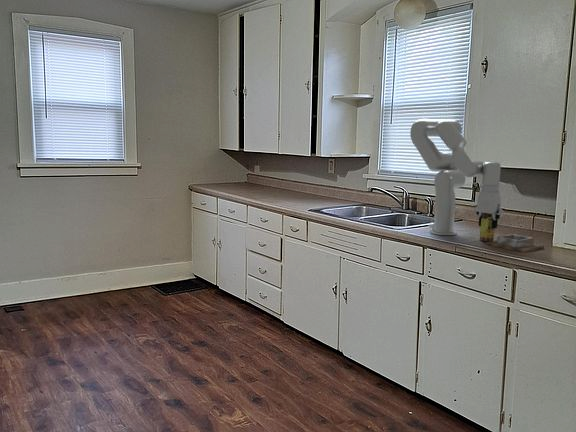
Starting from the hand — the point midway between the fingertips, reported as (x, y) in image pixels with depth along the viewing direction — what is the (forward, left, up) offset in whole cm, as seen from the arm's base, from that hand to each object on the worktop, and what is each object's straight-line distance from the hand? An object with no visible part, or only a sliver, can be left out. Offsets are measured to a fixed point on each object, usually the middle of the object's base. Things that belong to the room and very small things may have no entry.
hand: (487, 226), depth 252 cm
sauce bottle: (0, 0, -7) cm, 7 cm away
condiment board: (+15, -1, -7) cm, 16 cm away
